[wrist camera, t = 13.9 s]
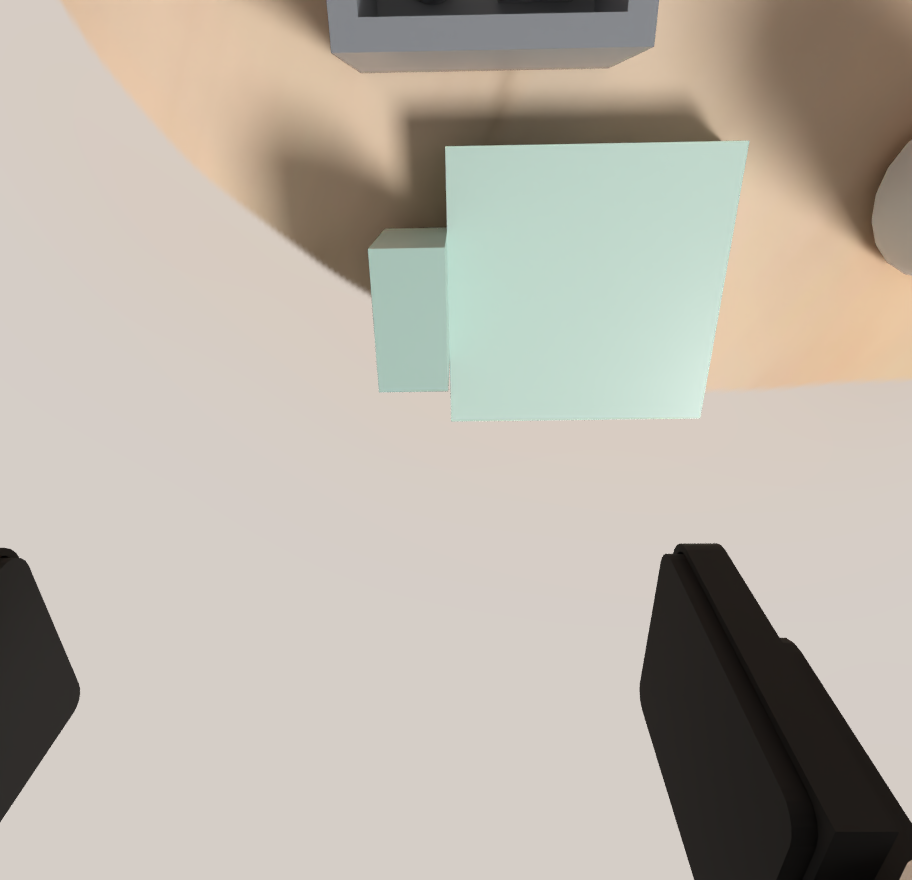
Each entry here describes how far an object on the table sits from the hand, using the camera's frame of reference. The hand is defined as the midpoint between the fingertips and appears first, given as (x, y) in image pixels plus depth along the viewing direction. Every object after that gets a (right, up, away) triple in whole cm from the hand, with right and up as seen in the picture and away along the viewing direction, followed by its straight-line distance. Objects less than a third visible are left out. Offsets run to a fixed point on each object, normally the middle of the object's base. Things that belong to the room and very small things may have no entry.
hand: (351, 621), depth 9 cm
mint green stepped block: (+6, +11, +22) cm, 25 cm away
